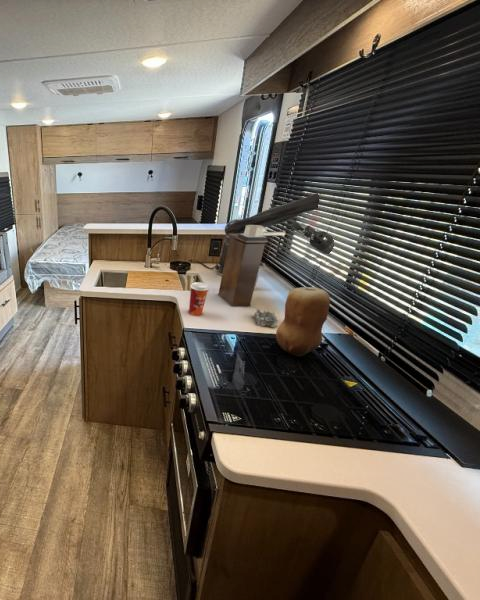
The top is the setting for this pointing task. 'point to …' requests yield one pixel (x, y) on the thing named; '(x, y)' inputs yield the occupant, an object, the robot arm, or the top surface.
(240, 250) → the pedestal
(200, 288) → the paper cup
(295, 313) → the butternut squash
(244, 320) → the top surface
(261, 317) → the grey knobbly lump
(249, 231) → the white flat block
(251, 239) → the scale
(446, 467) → the top surface
